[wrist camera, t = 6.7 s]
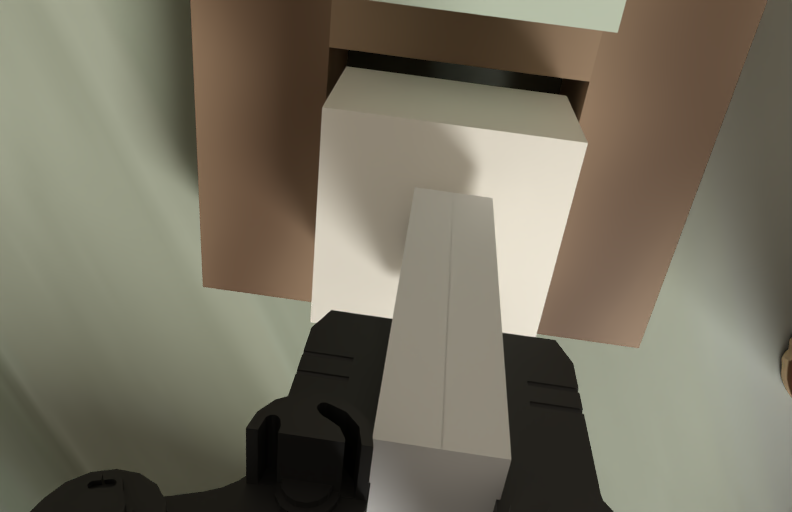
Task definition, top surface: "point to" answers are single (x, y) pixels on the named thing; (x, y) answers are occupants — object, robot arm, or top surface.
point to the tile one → (439, 183)
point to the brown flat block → (481, 47)
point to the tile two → (537, 10)
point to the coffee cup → (787, 368)
